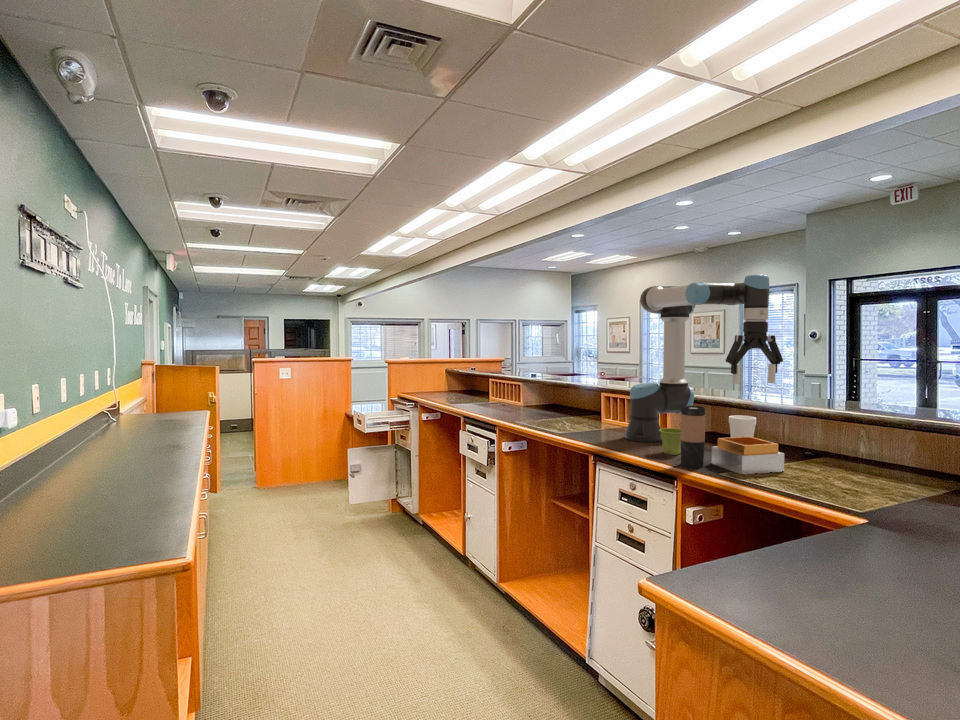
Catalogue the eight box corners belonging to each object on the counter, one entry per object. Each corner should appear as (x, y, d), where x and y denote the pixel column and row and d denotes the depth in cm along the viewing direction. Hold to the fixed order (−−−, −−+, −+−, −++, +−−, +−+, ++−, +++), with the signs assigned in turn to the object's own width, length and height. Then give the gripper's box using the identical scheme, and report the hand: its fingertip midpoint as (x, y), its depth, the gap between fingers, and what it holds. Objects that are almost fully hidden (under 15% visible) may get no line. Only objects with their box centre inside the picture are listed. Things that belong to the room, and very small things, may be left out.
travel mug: (706, 468, 183) (707, 409, 181) (682, 467, 184) (683, 408, 183) (701, 463, 190) (702, 406, 189) (678, 462, 192) (679, 405, 190)
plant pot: (689, 456, 201) (689, 432, 200) (663, 456, 201) (663, 432, 200) (680, 450, 210) (680, 428, 210) (655, 450, 210) (656, 428, 210)
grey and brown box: (711, 463, 189) (712, 437, 189) (762, 460, 194) (763, 435, 194) (741, 474, 175) (742, 446, 174) (796, 470, 180) (797, 443, 179)
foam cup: (749, 448, 213) (750, 415, 213) (759, 454, 204) (760, 419, 203) (724, 448, 214) (725, 415, 214) (732, 453, 205) (733, 419, 204)
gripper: (729, 320, 179) (727, 385, 181) (796, 320, 184) (794, 383, 185) (715, 321, 187) (714, 382, 188) (780, 321, 191) (778, 381, 193)
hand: (753, 383), depth 187 cm, fingers open, 13 cm apart
